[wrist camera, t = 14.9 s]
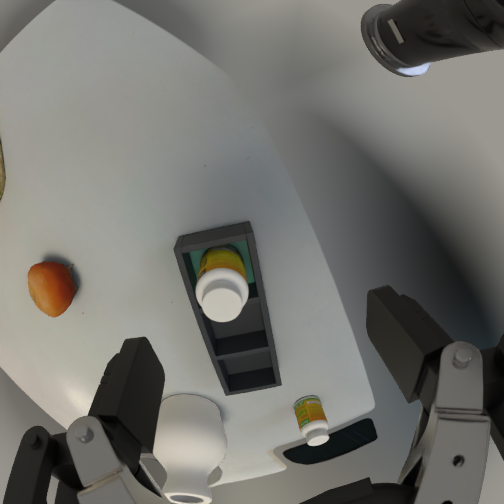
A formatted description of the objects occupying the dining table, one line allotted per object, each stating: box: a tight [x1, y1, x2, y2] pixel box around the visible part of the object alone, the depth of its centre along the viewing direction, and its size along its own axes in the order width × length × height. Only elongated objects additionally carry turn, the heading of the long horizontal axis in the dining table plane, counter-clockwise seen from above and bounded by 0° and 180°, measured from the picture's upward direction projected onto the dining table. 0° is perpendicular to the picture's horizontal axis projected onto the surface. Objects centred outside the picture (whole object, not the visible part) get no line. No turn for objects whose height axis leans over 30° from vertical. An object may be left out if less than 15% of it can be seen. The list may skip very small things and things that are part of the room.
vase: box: [153, 394, 227, 504], centre depth 39 cm, size 14×14×20 cm
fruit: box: [28, 262, 78, 317], centre depth 32 cm, size 8×8×8 cm
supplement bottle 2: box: [294, 396, 329, 446], centre depth 45 cm, size 5×5×10 cm
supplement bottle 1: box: [196, 244, 249, 322], centre depth 31 cm, size 6×6×10 cm
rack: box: [174, 221, 282, 396], centre depth 38 cm, size 9×26×4 cm, turn 10°
